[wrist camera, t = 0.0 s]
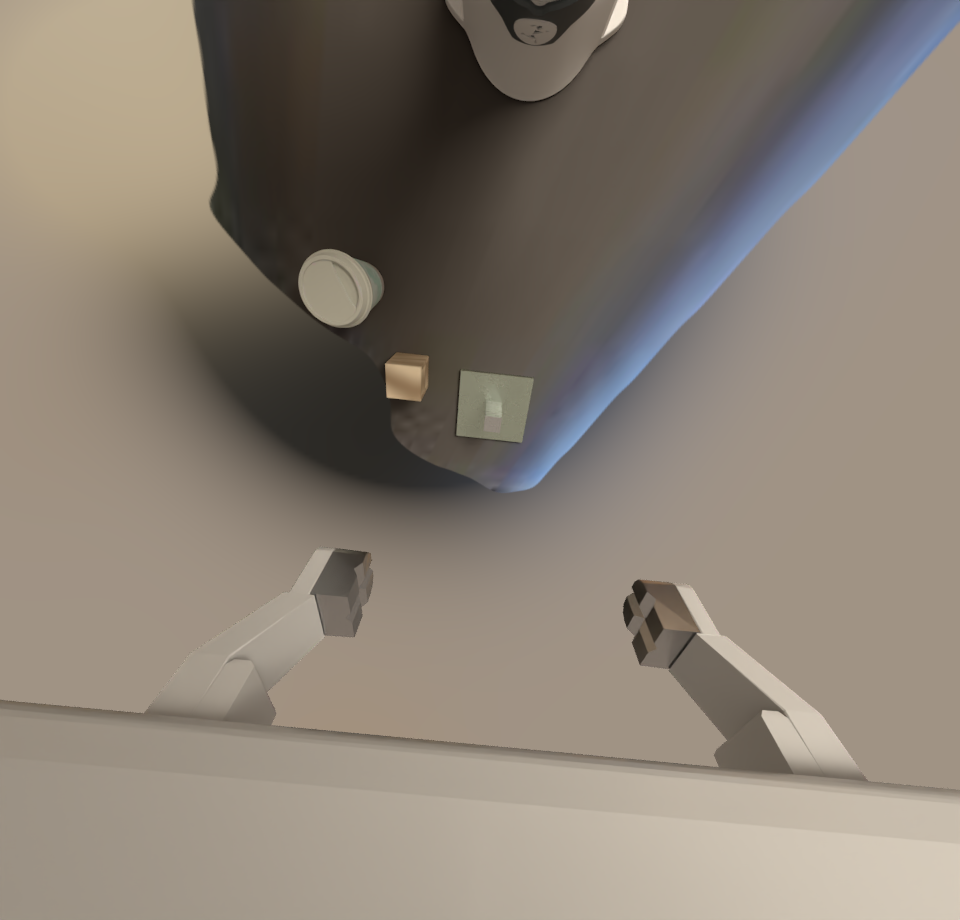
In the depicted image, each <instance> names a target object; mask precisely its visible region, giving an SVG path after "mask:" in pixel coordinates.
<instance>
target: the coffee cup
mask: <svg viewBox="0 0 960 920" xmlns="http://www.w3.org/2000/svg"><path fill="white" fill-rule="evenodd" d="M298 285H299V291H300V295H301V298H302V300H303V302H304V304H305V306H306V307H307V309H308V310H309V311H310V312H311V313H312V314H313V315H314V316H315V317H316V318H317V319H319V320H320V321H322V322H324V323H326V324H328V325H330V326H333V327H338V328H349V327H353V326H356V325H358V324H360V323H361V322H362V321H363V320H364V319H365V318H366V317H367V315H368V314H369V312H370V310H371V309H372V308H373V307H374V306H375V305H376V304H377V303H378V302H379V301H380V300H381V298H382V296H383V293H384V281H383V278H382V276H381V274H380V272H379V271H378V270H377V269H376V268H375V267H374V266H373V265H371V264H370V263H367V262H364V261H361V260H358V259H355V258H352V257H351V256H349V255H347V254H346V253H344V252H341V251H338V250H334V249H324V250H320V251H318V252H316V253H314V254H312V255H311V256H309V257H308V258H307V260H306V261H305V262H304V264H303V266H302V268H301V270H300V274H299V279H298Z"/></svg>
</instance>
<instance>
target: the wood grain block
mask: <svg viewBox="0 0 960 920" xmlns="http://www.w3.org/2000/svg"><path fill="white" fill-rule="evenodd" d="M428 365H429V356H425V355H416V354H407V353H398V352H396V353H395V354H394V355H393V356H392V357H391V358H390V359H389V360H388V361H387V362H386V363H385V372H386V393H387V398H395V399H404V400H413V401H421V400H422V398H423V396H424V394H425V392H426V390H427V388H428Z"/></svg>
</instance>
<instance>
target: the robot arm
mask: <svg viewBox="0 0 960 920" xmlns="http://www.w3.org/2000/svg"><path fill="white" fill-rule="evenodd" d="M445 2H446V5H447V7H448V9H449V11H450V12H451V14H452V15H453V16H454V18H455V19H456V20H457V21H458V22H459V24H460V25H461V26H462V27H463V28H464V29H465V31H466V33H467V35H468V37H469V40H470V43H471V45H472V48H473V51H474V54H475V56H476V59H477V61H478V63H479V65H480V67H481V69H482V70H483V72H484V73H485V75H486V76H487V78H488V79H489V80H490V82H491V83H492V84H493V85H494V86H495V87H496V88H497V89H499V90H500V91H501V92H503V93H504V94H506V95H508V96H509V97H512V98H514V99H518V100H522V101H537V100H541V99H545V98H547V97H550V96H552V95H554V94H556V93H557V92H559V91H560V90H562V89H563V88H564V87H565V86H567V85H568V84H569V83H570V82H571V81H572V80H573V79H574V78H575V76H576V75H577V74H578V73H579V71H580V70H581V69H582V67H583V66H584V64H585V63H586V61H587V60H588V58H589V57H590V55H591V54H592V52H593V51H594V50H595V49H596V47H597V46H599V45H600V44H602V43H603V42H604V41H606V40H607V39H608V38H610V37H611V36H612V35H614V34H615V33H616V32H617V31H618V30H619V28H620V27H621V26H622V24H623V22H624V19H625V16H626V13H627V8H628V0H445ZM371 561H372V559H371V553H369V552H361V551H353V550H346V549H337V548H328V547H319V548H318V549H316V550H315V551H314V553H313V554H312V556H311V558H310V560H309V561H308V563H307V564H306V566H305V568H304V569H303V571H302V572H301V574H300V576H299V577H298V579H297V580H296V582H295V584H294V585H293V587H292V589H291V590H290V592H283V593H282V594H280V595H278V596H277V597H276V598H274V599H272V600H271V601H269V602H268V603H266V604H265V605H263V606H262V607H260V608H259V609H257V610H256V611H254V612H252V613H251V614H249V615H248V616H246V617H245V618H244V619H242V620H240V621H239V622H237V623H236V624H234V625H233V626H231V627H229V628H228V629H226V630H225V631H224V632H222V633H220V634H219V635H217V636H216V637H214V638H213V639H211V640H210V641H208V642H207V643H205V644H203V645H202V646H200V647H199V648H197V649H196V650H194V651H193V652H191V653H190V654H189V656H188V657H187V658H186V660H185V661H184V662H183V663H182V665H181V666H180V667H179V669H178V670H177V671H176V672H175V674H174V675H173V676H172V678H171V679H170V680H169V682H168V683H167V684H166V686H165V687H164V688H163V690H162V691H161V692H160V693H159V695H158V696H157V697H156V699H155V700H154V701H153V703H152V704H151V705H150V706H149V708H148V709H147V710H146V711H145V713H134V712H123V711H113V710H102V709H91V708H80V707H69V706H59V705H47V704H36V703H25V702H16V701H5V700H0V920H960V790H954V789H943V788H933V787H922V786H911V785H901V784H891V783H880V782H869V781H868V780H867V779H866V778H865V776H864V775H863V774H862V772H861V771H860V769H859V768H858V766H857V765H856V763H855V762H854V761H853V759H852V758H851V756H850V755H849V753H848V752H847V751H846V749H845V748H844V746H843V745H842V744H841V742H840V741H839V739H838V738H837V736H836V735H835V733H834V732H833V731H832V729H831V728H830V726H829V725H828V723H827V722H826V721H825V719H824V718H823V716H822V715H821V714H820V713H819V712H817V711H816V710H815V709H814V708H813V707H811V706H810V705H809V704H808V703H806V702H805V701H804V700H803V699H801V698H800V697H799V696H798V695H797V694H796V693H794V692H793V691H792V690H791V689H789V688H788V687H787V686H786V685H785V684H783V683H782V682H781V681H780V680H779V679H777V678H776V677H775V676H774V675H772V674H771V673H770V672H769V671H767V670H766V669H765V668H764V667H763V666H761V665H760V664H759V663H758V662H757V661H755V660H754V659H753V658H752V657H750V656H749V655H748V654H747V653H746V652H744V651H743V650H742V649H741V648H740V647H738V646H737V645H736V644H735V643H733V642H732V641H731V640H730V639H728V638H727V637H726V636H721V635H720V634H719V632H718V631H717V629H716V627H715V625H714V624H713V622H712V620H711V619H710V617H709V615H708V614H707V612H706V610H705V609H704V607H703V605H702V603H701V602H700V600H699V598H698V597H697V595H696V594H695V592H694V590H693V588H692V587H691V586H689V585H688V584H679V583H669V582H661V581H650V580H637V581H635V582H634V584H633V586H632V589H633V592H634V593H632V594H630V595H629V596H627V597H626V600H625V602H624V606H623V607H624V608H623V615H624V621H625V624H626V627H627V629H628V630H629V631H630V632H631V633H632V634H633V635H634V639H633V641H632V644H633V647H634V649H635V653H636V655H637V658H638V661H639V664H640V665H641V666H650V667H657V668H665V669H669V672H670V673H671V674H672V675H673V676H674V678H675V679H676V680H677V681H678V682H679V683H680V685H681V686H682V687H683V688H684V689H685V691H686V692H687V693H688V694H689V695H690V696H691V698H692V699H693V700H694V701H695V702H696V704H697V705H698V706H699V707H700V708H701V710H702V711H703V712H704V713H705V714H706V716H707V717H708V718H709V719H710V720H711V721H712V723H713V724H714V725H715V726H716V727H717V728H718V730H719V731H720V732H721V733H722V734H723V736H724V737H725V738H726V739H727V741H726V742H725V743H724V744H722V745H721V746H720V747H719V748H718V749H717V750H716V752H715V754H714V756H715V759H716V761H717V763H718V766H719V767H710V766H699V765H688V764H678V763H668V762H657V761H646V760H636V759H624V758H615V757H603V756H593V755H583V754H572V753H562V752H551V751H540V750H529V749H519V748H508V747H498V746H486V745H476V744H466V743H455V742H444V741H434V740H423V739H412V738H401V737H391V736H380V735H370V734H359V733H348V732H337V731H326V730H316V729H304V728H295V727H294V728H293V727H284V726H272V725H271V724H272V722H273V720H274V718H275V716H276V712H275V708H274V706H273V704H272V702H271V700H270V698H269V696H268V694H267V692H268V691H269V690H270V689H271V688H272V687H273V686H274V685H275V684H276V683H277V682H278V681H279V680H280V679H281V678H282V677H283V676H284V675H285V674H286V673H288V672H289V671H290V670H291V669H292V668H293V667H294V666H295V665H296V664H297V663H298V662H299V661H300V660H301V659H302V658H303V657H304V656H305V655H306V654H307V653H308V652H309V651H311V649H313V648H314V647H315V646H316V645H317V644H318V643H319V642H320V641H321V640H322V639H323V638H324V635H329V636H344V637H355V634H356V632H357V629H358V626H359V624H360V621H361V618H362V609H361V607H362V606H363V605H365V604H366V603H367V602H368V599H369V596H370V594H371V589H372V584H373V571H372V570H371V569H370V568H369V566H370V564H371Z"/></svg>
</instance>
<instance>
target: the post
mask: <svg viewBox="0 0 960 920" xmlns="http://www.w3.org/2000/svg"><path fill="white" fill-rule="evenodd" d="M533 380H534V377H525V376H516V375H507V374H498V373H489V372H480V371H471V370H462V369H461V375H460V390H459V404H458V418H457V432H456V436H465V437H475V438H484V439H493V440H502V441H512V442H521V443H522V439H523V434H524V428H525V423H526V418H527V412H528V407H529V402H530V396H531V391H532V386H533Z"/></svg>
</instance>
